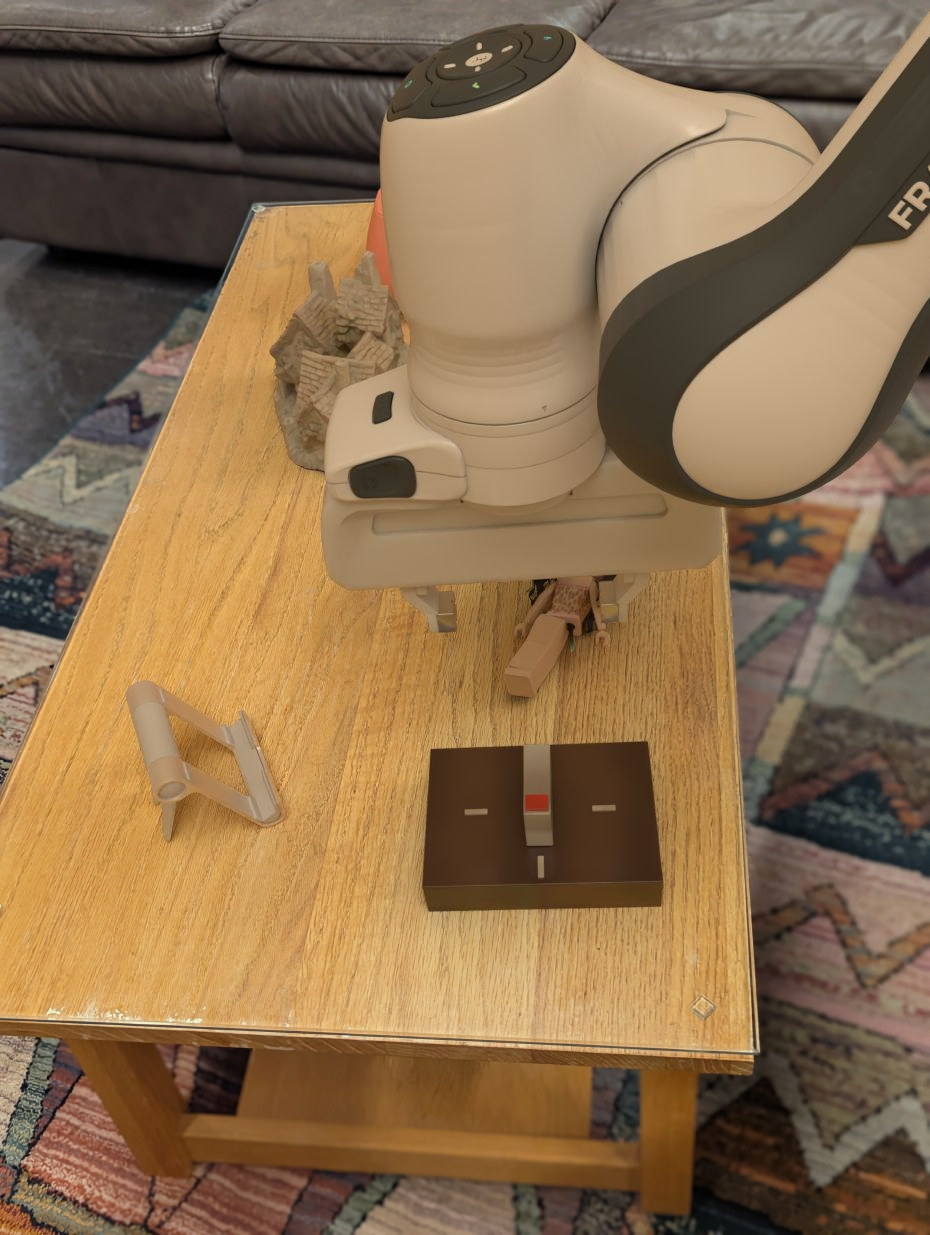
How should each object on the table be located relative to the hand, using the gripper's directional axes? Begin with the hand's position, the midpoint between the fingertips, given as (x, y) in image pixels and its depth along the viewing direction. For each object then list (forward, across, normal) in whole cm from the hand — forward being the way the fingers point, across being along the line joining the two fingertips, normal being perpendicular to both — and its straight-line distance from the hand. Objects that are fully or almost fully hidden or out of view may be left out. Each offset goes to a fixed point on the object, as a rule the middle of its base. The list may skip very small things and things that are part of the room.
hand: (528, 619), depth 60 cm
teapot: (+15, +9, -64) cm, 66 cm away
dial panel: (+15, 0, +5) cm, 16 cm away
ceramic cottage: (+15, +18, -42) cm, 48 cm away
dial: (+12, 0, +5) cm, 13 cm away
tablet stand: (+15, +22, 0) cm, 27 cm away
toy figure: (+15, -3, -13) cm, 21 cm away
